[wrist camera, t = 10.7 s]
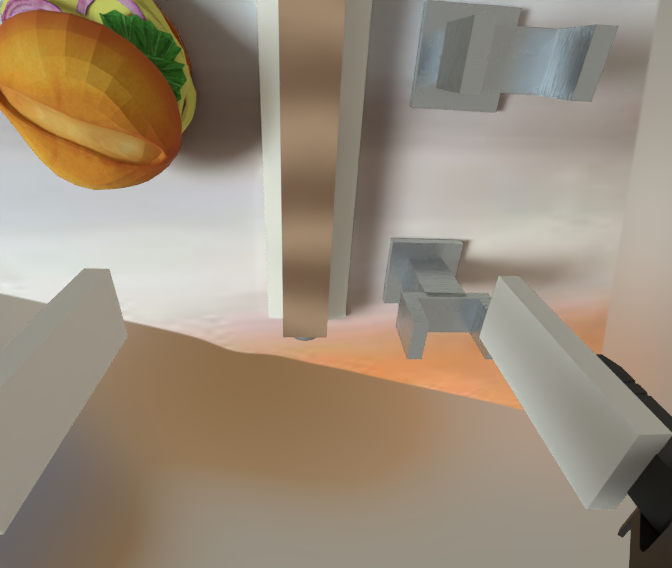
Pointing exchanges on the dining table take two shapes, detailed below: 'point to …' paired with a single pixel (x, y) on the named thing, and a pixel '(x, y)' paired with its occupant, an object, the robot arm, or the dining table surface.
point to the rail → (308, 156)
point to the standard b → (502, 58)
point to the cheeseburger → (96, 87)
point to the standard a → (431, 293)
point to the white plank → (347, 148)
